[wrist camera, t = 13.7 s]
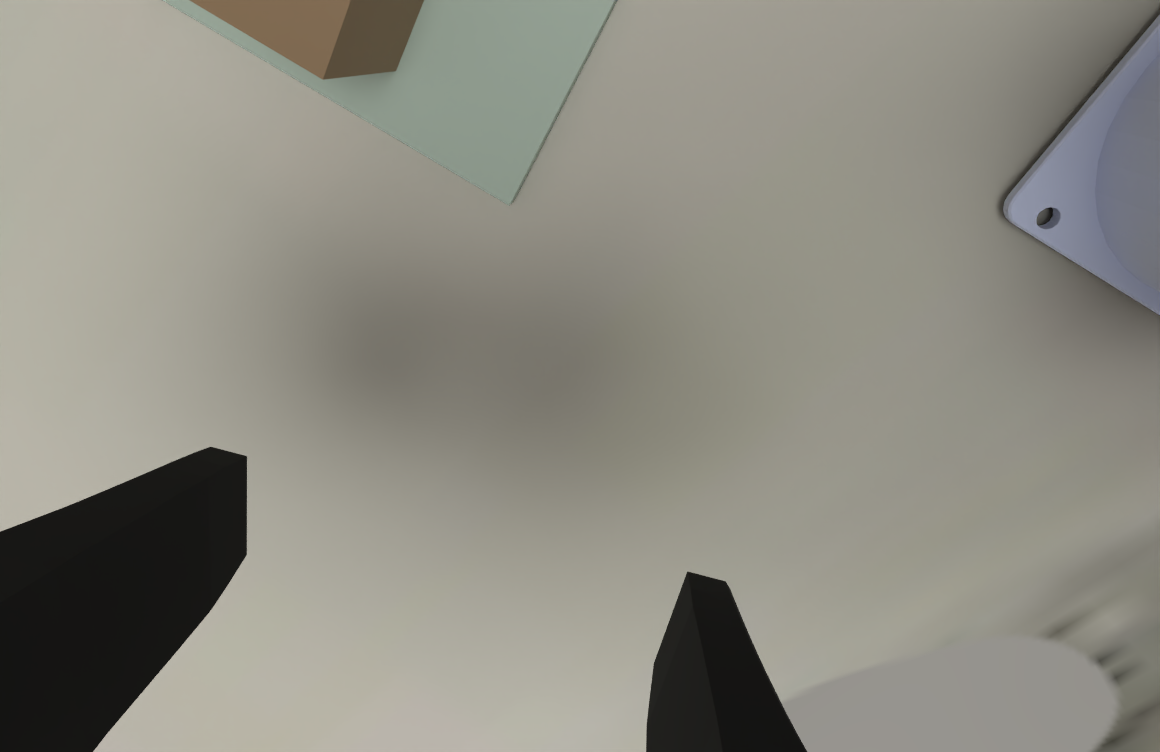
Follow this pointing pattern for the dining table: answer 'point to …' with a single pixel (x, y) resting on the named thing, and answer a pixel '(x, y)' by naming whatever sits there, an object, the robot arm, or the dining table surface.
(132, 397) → the dining table surface
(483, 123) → the toolbox lid
